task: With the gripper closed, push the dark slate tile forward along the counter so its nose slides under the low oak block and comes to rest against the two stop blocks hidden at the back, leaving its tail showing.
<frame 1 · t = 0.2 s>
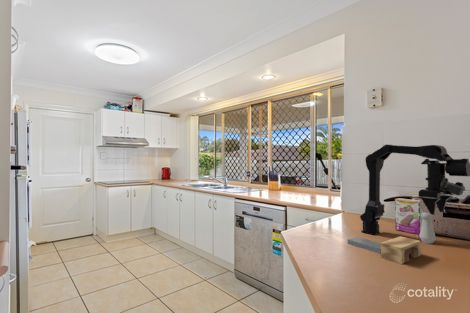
hand: (437, 213, 101), 15 cm above the counter, tool pointing down, fingers open, 9 cm apart
oak block: (401, 256, 92), on the counter
slate tile: (368, 248, 103), on the counter
candy bar box: (409, 232, 125), on the counter
salt shaker: (427, 242, 108), on the counter
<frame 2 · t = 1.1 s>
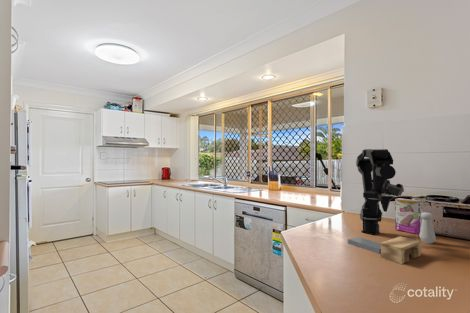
hand: (380, 212, 108), 13 cm above the counter, tool pointing down, fingers open, 9 cm apart
nothing on the counter moved.
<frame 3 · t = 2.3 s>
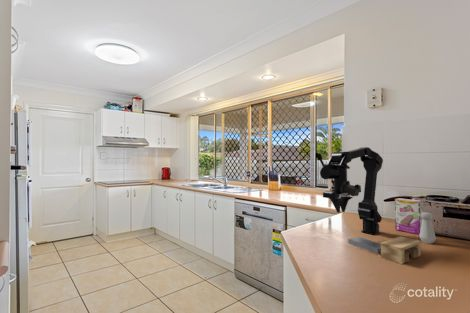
hand: (340, 212, 114), 12 cm above the counter, tool pointing down, fingers open, 3 cm apart
nothing on the counter moved.
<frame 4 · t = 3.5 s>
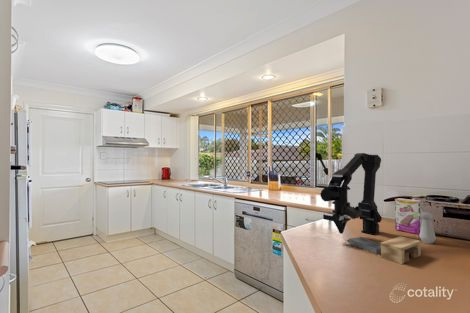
hand: (341, 233, 113), 3 cm above the counter, tool pointing down, fingers closed
nothing on the counter moved.
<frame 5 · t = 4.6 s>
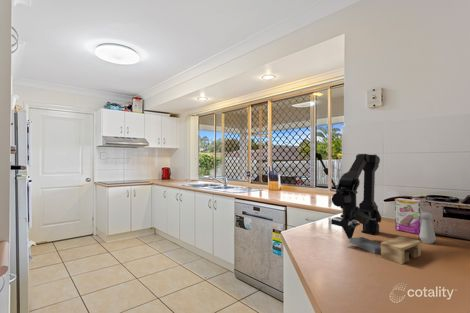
hand: (349, 238, 110), 1 cm above the counter, tool pointing down, fingers closed
slate tile: (368, 248, 103), on the counter, touching gripper
everything else where it was.
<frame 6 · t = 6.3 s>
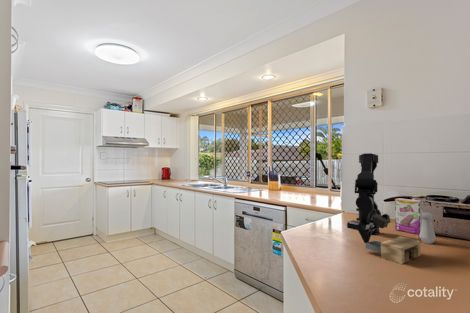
hand: (366, 243, 103), 1 cm above the counter, tool pointing down, fingers closed
slate tile: (387, 252, 97), on the counter
everything else where it was.
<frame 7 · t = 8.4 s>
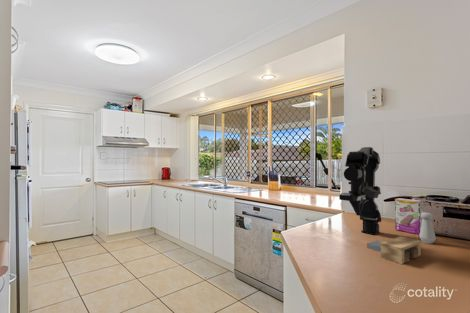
hand: (358, 215, 107), 12 cm above the counter, tool pointing down, fingers closed
nothing on the counter moved.
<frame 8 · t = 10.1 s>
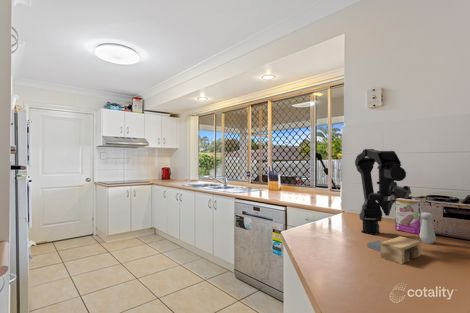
hand: (387, 215, 106), 13 cm above the counter, tool pointing down, fingers closed
nothing on the counter moved.
at the end: slate tile 1.8 cm from the target spot, on the counter; slate tile tilted 0° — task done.
